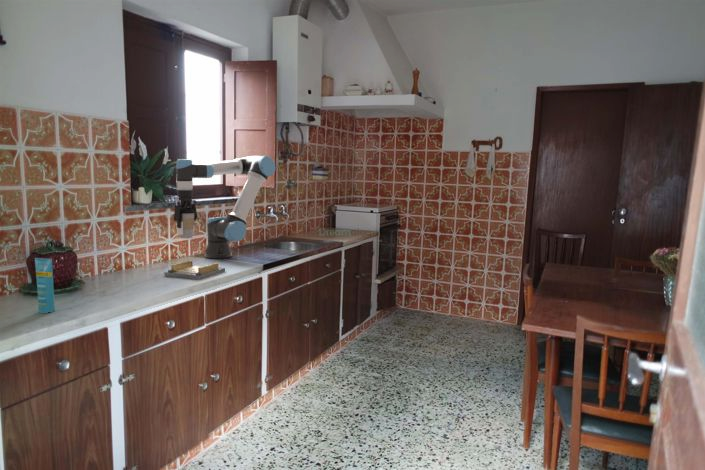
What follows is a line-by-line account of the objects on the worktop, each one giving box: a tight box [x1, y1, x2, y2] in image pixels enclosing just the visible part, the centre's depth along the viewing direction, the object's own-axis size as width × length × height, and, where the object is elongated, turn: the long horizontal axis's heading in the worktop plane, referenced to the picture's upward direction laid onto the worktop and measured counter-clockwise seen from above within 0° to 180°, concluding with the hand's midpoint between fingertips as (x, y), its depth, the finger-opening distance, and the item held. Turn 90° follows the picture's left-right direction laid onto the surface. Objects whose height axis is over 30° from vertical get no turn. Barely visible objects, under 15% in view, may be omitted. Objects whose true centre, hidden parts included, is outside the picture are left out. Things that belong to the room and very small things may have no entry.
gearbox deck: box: [163, 259, 226, 281], centre depth 235 cm, size 20×20×5 cm
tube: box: [34, 257, 56, 314], centre depth 170 cm, size 7×5×19 cm, turn 81°
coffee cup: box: [179, 209, 195, 239], centre depth 252 cm, size 9×9×15 cm
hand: (186, 233), depth 253 cm, fingers closed on coffee cup, 8 cm apart
